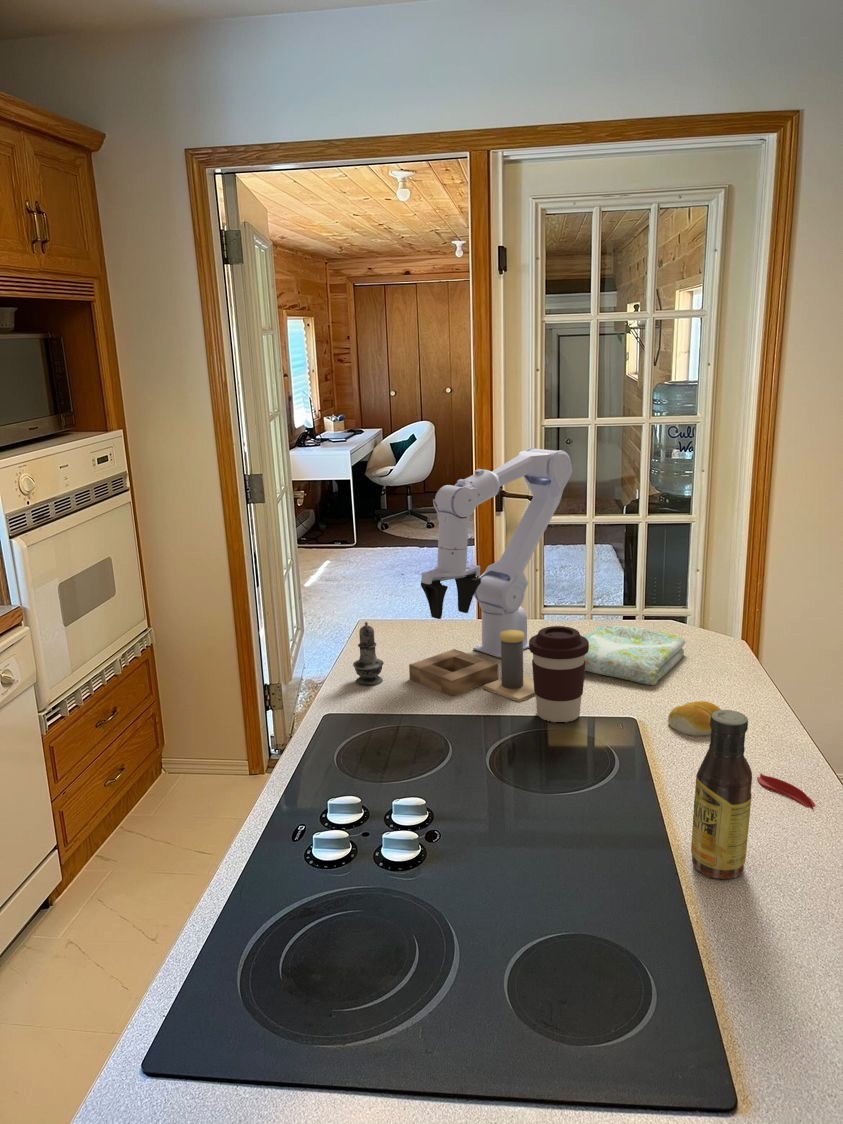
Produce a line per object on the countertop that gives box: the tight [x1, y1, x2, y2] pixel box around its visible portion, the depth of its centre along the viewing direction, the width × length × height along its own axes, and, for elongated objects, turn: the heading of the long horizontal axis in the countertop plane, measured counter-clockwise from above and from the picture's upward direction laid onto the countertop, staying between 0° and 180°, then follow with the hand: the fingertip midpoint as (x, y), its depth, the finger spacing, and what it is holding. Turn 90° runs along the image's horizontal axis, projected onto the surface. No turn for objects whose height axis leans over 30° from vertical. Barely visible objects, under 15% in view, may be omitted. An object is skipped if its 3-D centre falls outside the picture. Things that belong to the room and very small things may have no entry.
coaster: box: [482, 674, 536, 703], centre depth 159 cm, size 9×9×1 cm
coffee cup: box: [528, 625, 589, 723], centre depth 145 cm, size 10×10×15 cm
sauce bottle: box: [690, 709, 753, 880], centre depth 100 cm, size 6×6×20 cm
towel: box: [582, 625, 686, 686], centre depth 170 cm, size 18×21×5 cm
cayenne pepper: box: [756, 773, 816, 812], centre depth 119 cm, size 12×5×2 cm, turn 7°
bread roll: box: [667, 700, 722, 737], centre depth 141 cm, size 8×9×4 cm
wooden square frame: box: [408, 648, 499, 697], centre depth 164 cm, size 12×12×3 cm
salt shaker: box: [352, 621, 385, 687], centre depth 163 cm, size 6×6×12 cm
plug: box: [500, 630, 524, 689], centre depth 158 cm, size 4×4×10 cm
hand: (449, 614), depth 169 cm, fingers open, 7 cm apart
